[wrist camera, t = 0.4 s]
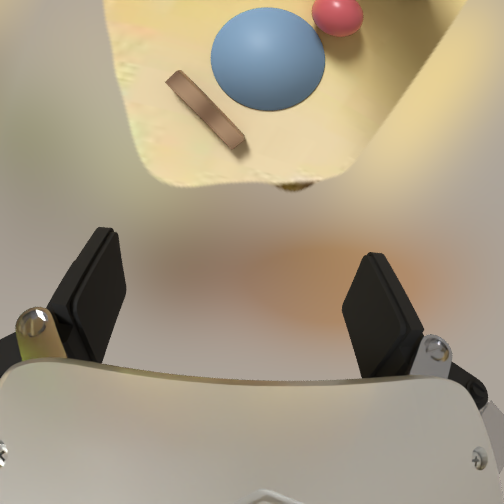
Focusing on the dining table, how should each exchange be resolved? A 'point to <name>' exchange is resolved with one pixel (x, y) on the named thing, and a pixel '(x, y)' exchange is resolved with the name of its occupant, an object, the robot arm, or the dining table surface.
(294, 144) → the dining table surface
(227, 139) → the wall
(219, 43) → the blue flat disc
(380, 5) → the dining table surface
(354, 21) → the object ball
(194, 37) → the dining table surface
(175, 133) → the dining table surface
